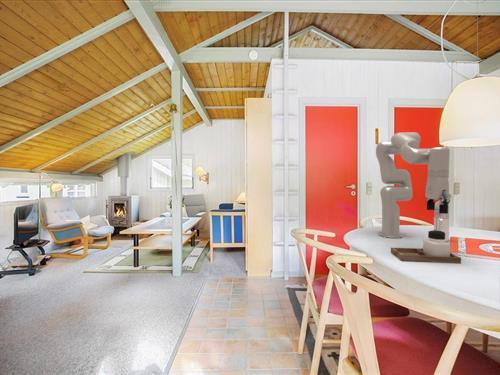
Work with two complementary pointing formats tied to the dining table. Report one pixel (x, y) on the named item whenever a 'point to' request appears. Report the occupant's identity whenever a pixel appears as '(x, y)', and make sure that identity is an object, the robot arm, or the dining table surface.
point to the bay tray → (422, 256)
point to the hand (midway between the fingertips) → (436, 211)
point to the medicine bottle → (436, 244)
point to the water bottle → (441, 221)
